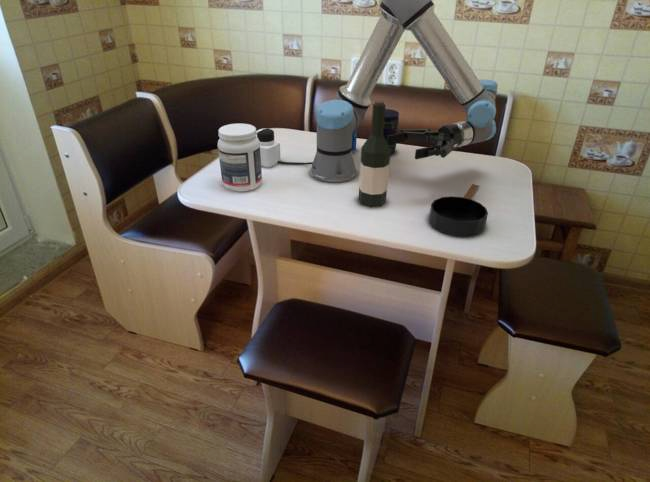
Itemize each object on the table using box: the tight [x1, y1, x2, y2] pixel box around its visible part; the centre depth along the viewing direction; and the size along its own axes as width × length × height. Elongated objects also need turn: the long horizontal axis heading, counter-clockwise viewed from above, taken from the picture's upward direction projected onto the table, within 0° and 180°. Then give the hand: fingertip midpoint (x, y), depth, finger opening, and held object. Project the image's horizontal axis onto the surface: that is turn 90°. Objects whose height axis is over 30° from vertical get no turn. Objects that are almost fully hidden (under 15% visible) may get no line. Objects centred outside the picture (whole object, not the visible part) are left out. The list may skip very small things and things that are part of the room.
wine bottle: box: [357, 99, 391, 208], centre depth 130 cm, size 8×8×30 cm
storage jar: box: [383, 108, 400, 157], centre depth 169 cm, size 10×10×15 cm
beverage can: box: [351, 127, 358, 153], centre depth 170 cm, size 6×6×12 cm
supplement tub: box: [217, 123, 263, 192], centre depth 142 cm, size 13×13×18 cm
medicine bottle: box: [256, 127, 282, 169], centre depth 159 cm, size 7×7×12 cm
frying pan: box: [428, 183, 489, 238], centre depth 130 cm, size 26×15×5 cm, turn 150°
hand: (400, 147), depth 133 cm, fingers open, 13 cm apart
